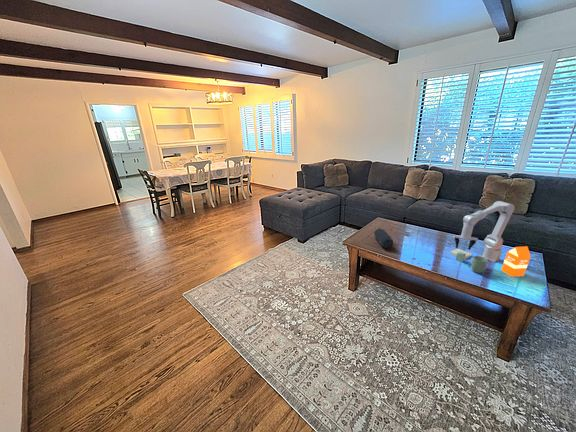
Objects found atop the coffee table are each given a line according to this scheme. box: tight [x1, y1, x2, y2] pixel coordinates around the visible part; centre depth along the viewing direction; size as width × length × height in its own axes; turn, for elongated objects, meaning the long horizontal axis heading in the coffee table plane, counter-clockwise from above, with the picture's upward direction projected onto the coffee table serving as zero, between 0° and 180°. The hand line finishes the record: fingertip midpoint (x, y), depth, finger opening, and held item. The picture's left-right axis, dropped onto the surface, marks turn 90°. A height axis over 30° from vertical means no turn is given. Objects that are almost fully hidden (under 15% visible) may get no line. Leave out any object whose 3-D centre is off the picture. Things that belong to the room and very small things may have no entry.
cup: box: [470, 255, 489, 274], centre depth 162 cm, size 8×8×10 cm
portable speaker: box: [374, 228, 394, 249], centre depth 206 cm, size 25×10×10 cm, turn 178°
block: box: [455, 252, 466, 263], centre depth 177 cm, size 4×4×6 cm
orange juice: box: [501, 246, 531, 277], centre depth 158 cm, size 8×9×20 cm
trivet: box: [450, 248, 473, 260], centre depth 185 cm, size 10×10×3 cm
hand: (462, 248), depth 175 cm, fingers open, 7 cm apart
